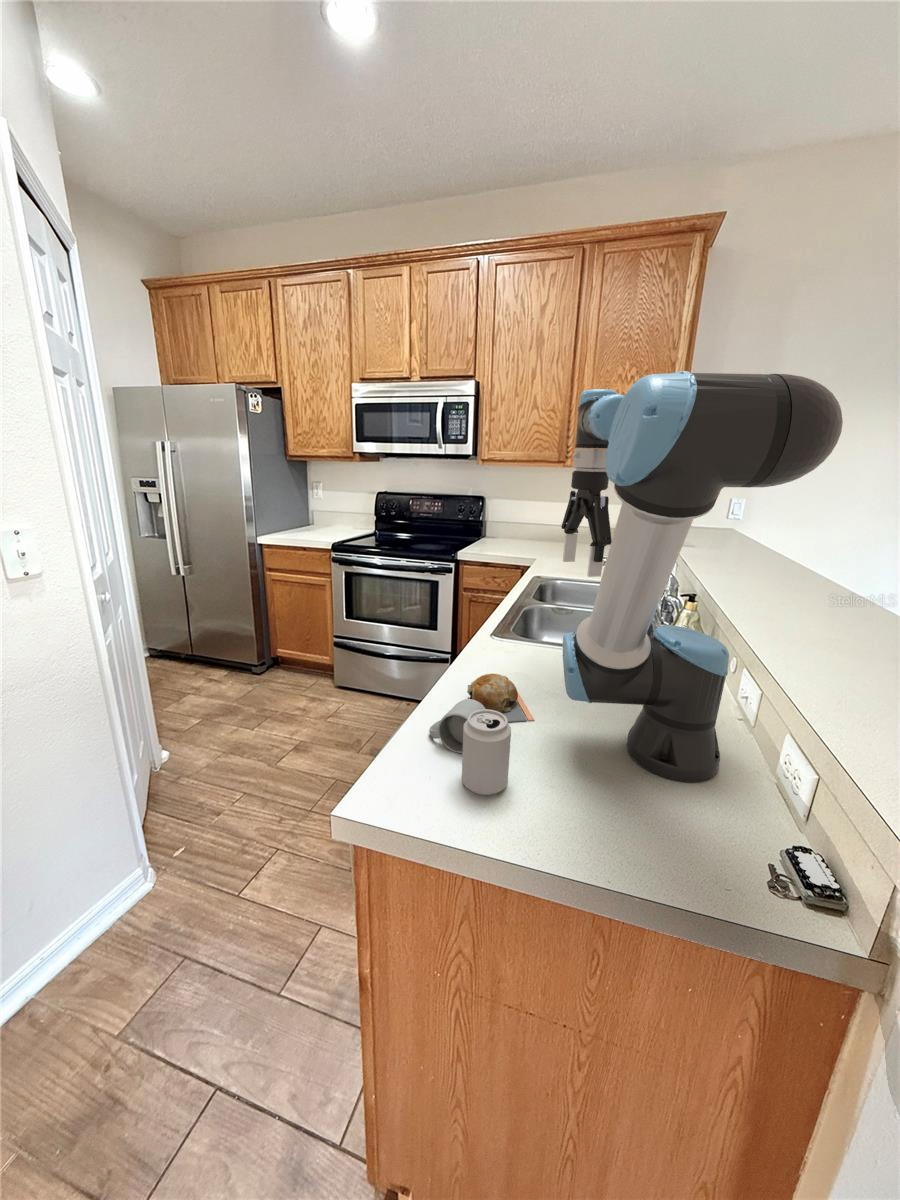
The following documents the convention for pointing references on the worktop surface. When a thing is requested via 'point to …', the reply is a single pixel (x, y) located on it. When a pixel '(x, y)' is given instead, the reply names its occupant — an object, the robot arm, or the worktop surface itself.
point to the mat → (517, 712)
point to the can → (486, 752)
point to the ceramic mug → (454, 724)
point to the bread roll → (494, 692)
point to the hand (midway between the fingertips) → (580, 568)
